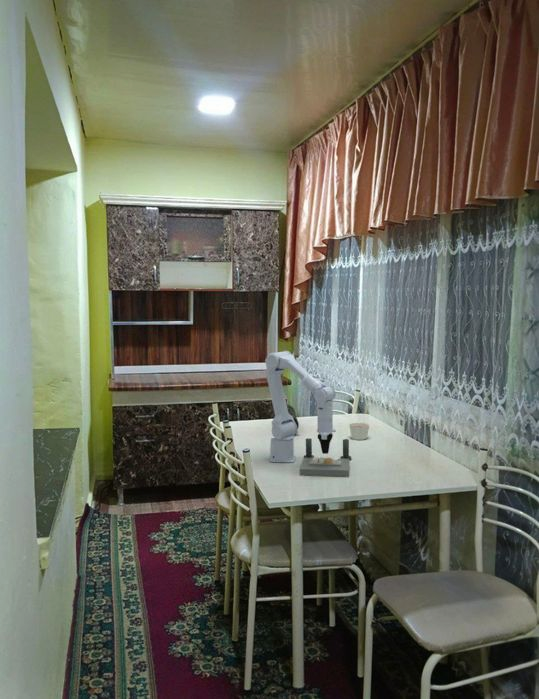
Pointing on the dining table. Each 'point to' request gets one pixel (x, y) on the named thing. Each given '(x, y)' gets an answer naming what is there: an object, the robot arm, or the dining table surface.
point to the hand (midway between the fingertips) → (325, 453)
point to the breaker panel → (325, 467)
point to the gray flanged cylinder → (308, 448)
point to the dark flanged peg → (345, 450)
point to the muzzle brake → (292, 414)
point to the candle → (359, 430)
